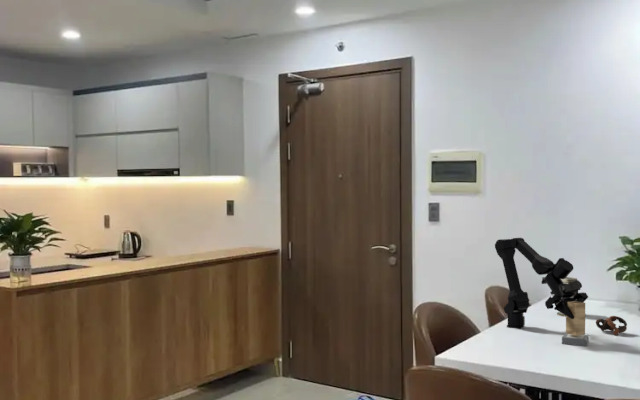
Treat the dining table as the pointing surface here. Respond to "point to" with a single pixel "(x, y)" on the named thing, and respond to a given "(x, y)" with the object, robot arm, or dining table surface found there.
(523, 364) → the dining table surface
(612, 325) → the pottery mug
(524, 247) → the robot arm
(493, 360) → the dining table surface
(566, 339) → the base tile
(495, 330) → the dining table surface
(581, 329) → the oak post
